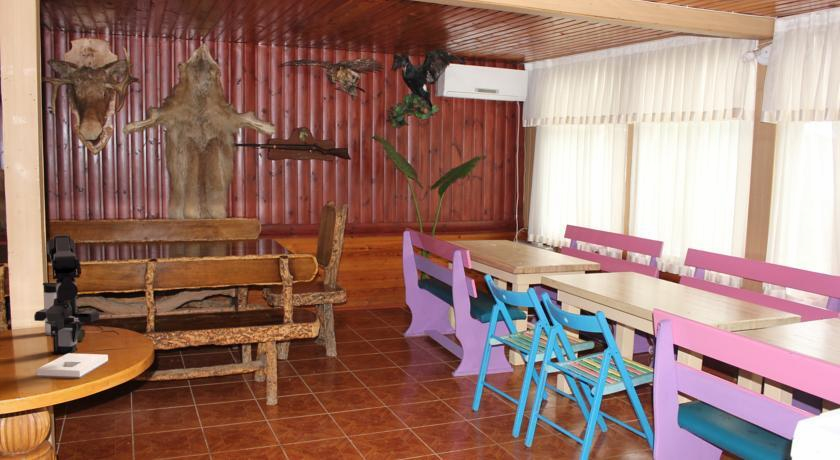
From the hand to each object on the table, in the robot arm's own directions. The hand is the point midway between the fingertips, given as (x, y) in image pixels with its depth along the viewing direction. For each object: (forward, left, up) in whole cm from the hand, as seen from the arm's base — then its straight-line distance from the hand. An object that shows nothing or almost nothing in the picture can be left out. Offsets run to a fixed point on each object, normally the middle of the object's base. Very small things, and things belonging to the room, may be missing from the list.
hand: (67, 341), depth 229 cm
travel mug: (-32, +46, -10) cm, 57 cm away
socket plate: (0, +3, -10) cm, 10 cm away
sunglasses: (-15, +45, -11) cm, 49 cm away
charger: (0, 0, -1) cm, 1 cm away
